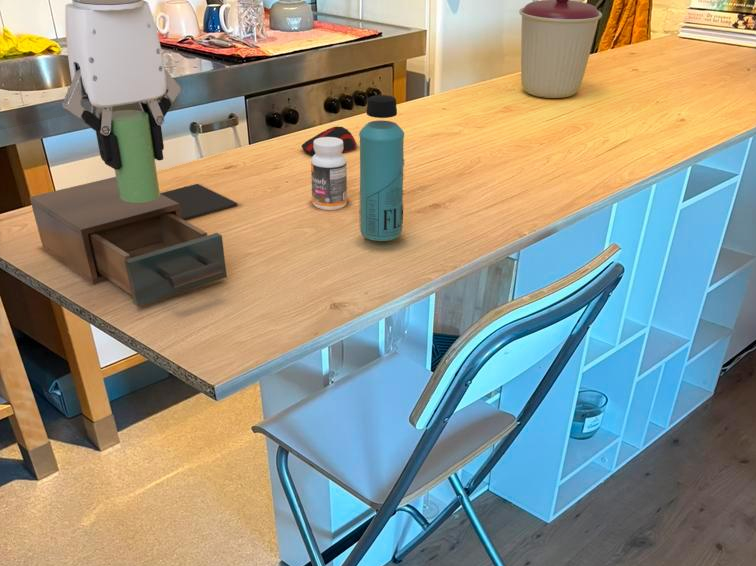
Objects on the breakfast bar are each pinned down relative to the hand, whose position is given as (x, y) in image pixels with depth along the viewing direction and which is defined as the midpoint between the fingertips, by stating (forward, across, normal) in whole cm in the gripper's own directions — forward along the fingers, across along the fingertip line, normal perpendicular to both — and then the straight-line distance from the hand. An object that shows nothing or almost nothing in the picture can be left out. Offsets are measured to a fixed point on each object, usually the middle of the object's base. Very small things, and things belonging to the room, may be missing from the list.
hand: (134, 160), depth 100 cm
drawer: (+15, 0, +2) cm, 15 cm away
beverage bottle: (+15, -32, +10) cm, 37 cm away
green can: (+4, 0, 0) cm, 4 cm away
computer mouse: (+16, -54, -29) cm, 64 cm away
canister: (+15, -122, -30) cm, 126 cm away
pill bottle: (+16, -36, -7) cm, 40 cm away
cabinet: (+16, 0, -12) cm, 20 cm away
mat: (+16, -18, -22) cm, 33 cm away
